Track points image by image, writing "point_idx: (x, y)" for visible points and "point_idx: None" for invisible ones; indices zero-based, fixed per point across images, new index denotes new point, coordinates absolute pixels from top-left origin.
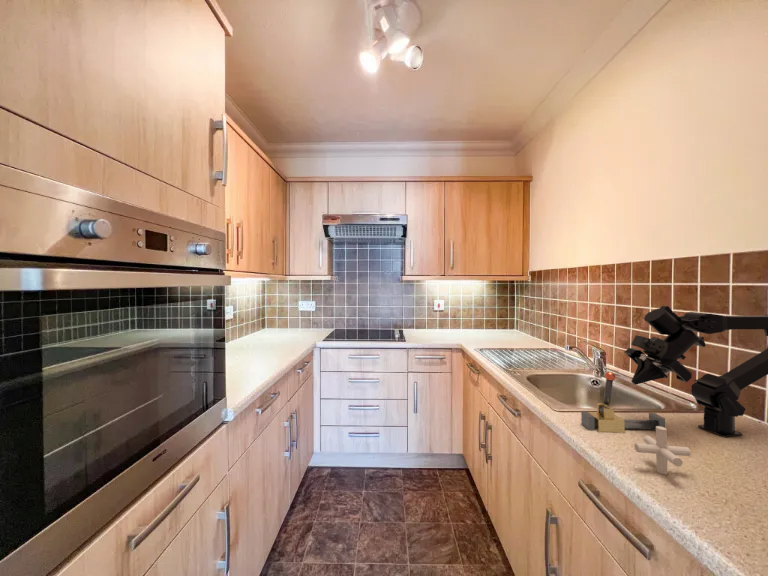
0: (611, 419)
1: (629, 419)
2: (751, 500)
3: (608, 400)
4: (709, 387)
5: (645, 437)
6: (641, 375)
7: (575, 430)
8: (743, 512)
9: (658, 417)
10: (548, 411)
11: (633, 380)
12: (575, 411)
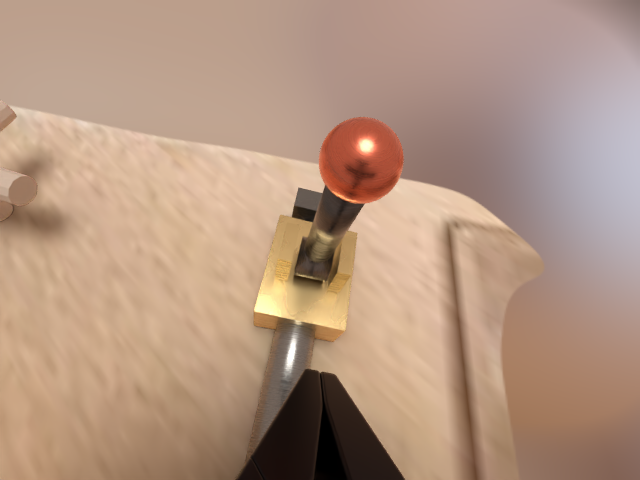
0: (272, 263)
1: (290, 380)
2: None
3: (308, 235)
4: None
5: (19, 174)
6: (258, 451)
7: (297, 181)
8: None
9: None
10: (443, 199)
11: (315, 379)
12: (452, 287)
